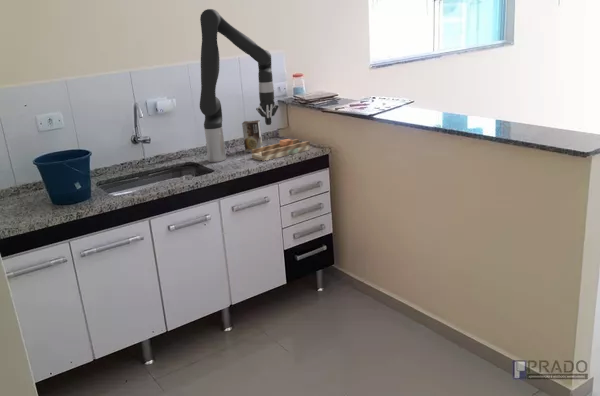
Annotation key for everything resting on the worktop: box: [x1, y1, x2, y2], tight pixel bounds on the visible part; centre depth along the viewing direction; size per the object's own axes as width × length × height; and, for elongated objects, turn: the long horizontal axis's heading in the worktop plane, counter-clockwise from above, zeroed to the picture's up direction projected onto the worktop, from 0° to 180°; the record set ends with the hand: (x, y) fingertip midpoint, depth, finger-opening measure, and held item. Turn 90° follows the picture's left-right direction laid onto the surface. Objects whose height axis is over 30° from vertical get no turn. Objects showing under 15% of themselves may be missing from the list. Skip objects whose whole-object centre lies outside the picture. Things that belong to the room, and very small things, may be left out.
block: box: [279, 138, 294, 148], centre depth 292 cm, size 5×5×4 cm
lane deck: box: [251, 138, 311, 162], centre depth 291 cm, size 30×11×4 cm, turn 127°
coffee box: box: [241, 119, 264, 153], centre depth 302 cm, size 9×6×16 cm
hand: (268, 124), depth 284 cm, fingers closed
